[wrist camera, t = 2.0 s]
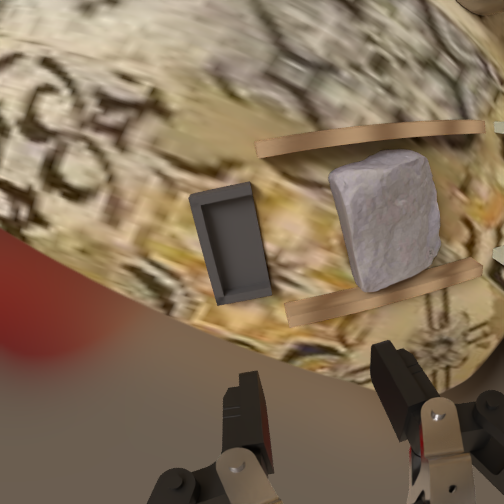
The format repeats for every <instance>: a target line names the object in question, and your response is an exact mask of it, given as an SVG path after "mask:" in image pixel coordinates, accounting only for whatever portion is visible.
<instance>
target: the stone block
mask: <svg viewBox="0 0 504 504" xmlns="http://www.w3.org/2000/svg"><path fill="white" fill-rule="evenodd" d="M432 176H433V175H432V173H431V170H430V166H429V163H428V160H427V158H426V157H424V156H423V155H421V154H419V153H418V152H414V151H412V150H407V149H396V150H389V149H387V150H381V151H379V152H377V153H376V154H374V155H372V156H368V157H367V158H366V159H365V160H362V161H359V162H354V163H350V164H347V165H344V166H341V167H339V168H337V169H334V170H333V171H332V172H330V174H329V177H328V179H329V183H330V187H331V191H332V194H333V197H334V201H335V205H336V209H337V212H338V216H339V220H340V224H341V228H342V232H343V236H344V240H345V244H346V248H347V251H348V256H349V261H350V265H351V270H352V275H353V277H354V280H355V282H356V284H357V285H358V286H359V287H360V289H361V290H362V291H364V292H375V291H378V290H380V289H382V288H386V287H388V286H389V285H392V284H395V283H397V282H399V281H402V280H404V279H407V278H410V277H412V276H414V275H416V274H418V273H420V272H421V271H423V270H424V269H426V268H427V267H429V266H430V265H431V264H432V261H433V258H434V257H436V256H437V254H438V251H439V248H440V246H441V241H440V237H439V229H440V213H439V208H438V203H437V192H436V189H435V184H434V182H433V180H432Z"/></svg>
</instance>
